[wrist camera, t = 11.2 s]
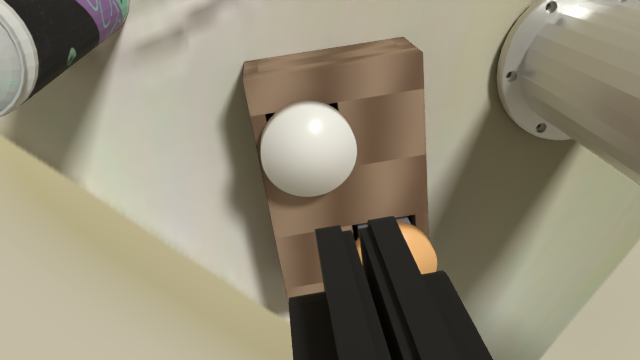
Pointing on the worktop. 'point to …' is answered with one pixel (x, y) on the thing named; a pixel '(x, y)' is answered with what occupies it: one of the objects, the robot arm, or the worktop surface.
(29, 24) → the spray can
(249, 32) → the worktop surface
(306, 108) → the white button
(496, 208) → the worktop surface
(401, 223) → the orange button
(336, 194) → the button panel
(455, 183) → the worktop surface
